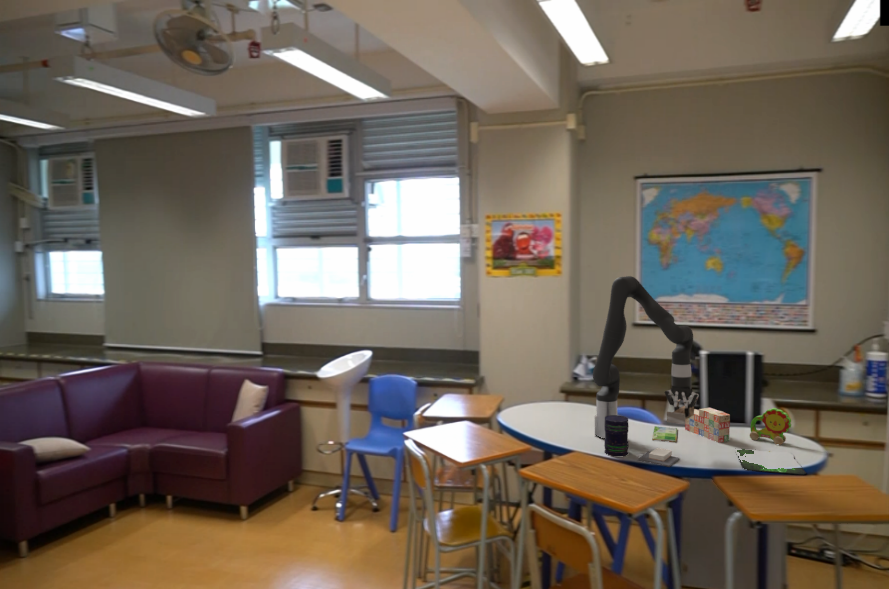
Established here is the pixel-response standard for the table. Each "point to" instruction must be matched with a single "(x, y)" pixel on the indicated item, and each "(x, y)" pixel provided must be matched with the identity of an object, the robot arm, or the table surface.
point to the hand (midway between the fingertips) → (682, 416)
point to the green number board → (665, 434)
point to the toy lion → (772, 426)
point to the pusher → (679, 415)
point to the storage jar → (616, 435)
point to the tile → (660, 454)
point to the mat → (667, 462)
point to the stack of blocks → (709, 424)
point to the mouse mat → (760, 468)
